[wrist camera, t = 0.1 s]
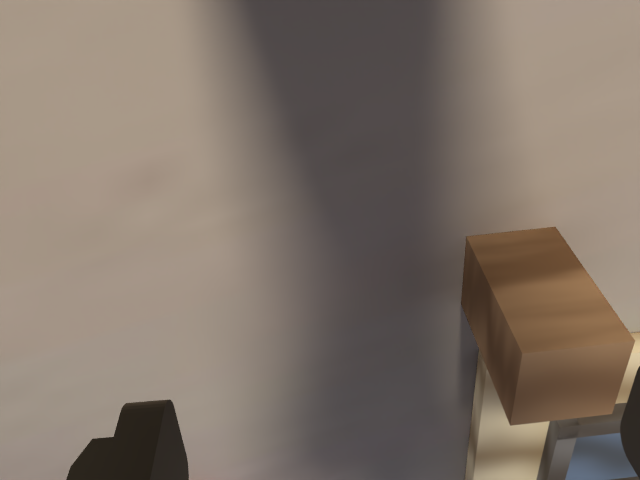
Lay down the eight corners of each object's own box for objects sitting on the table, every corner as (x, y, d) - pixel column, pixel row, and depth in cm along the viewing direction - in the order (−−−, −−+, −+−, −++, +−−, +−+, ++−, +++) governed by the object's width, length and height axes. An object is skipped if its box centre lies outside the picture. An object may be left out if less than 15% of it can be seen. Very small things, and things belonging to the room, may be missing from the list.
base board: (478, 350, 35) (493, 386, 33) (783, 316, 35) (818, 349, 33) (460, 517, 46) (470, 553, 43) (695, 490, 46) (717, 524, 44)
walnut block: (466, 236, 30) (522, 353, 24) (555, 226, 30) (635, 340, 24) (461, 303, 33) (510, 425, 26) (543, 294, 33) (611, 414, 26)
